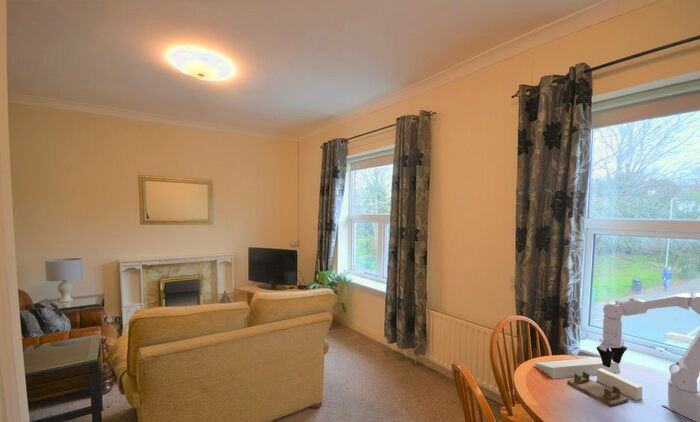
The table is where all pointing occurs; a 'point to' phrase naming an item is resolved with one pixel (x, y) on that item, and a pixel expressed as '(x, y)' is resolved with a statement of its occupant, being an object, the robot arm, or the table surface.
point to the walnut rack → (597, 390)
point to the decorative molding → (575, 367)
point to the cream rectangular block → (619, 383)
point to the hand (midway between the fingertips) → (611, 364)
